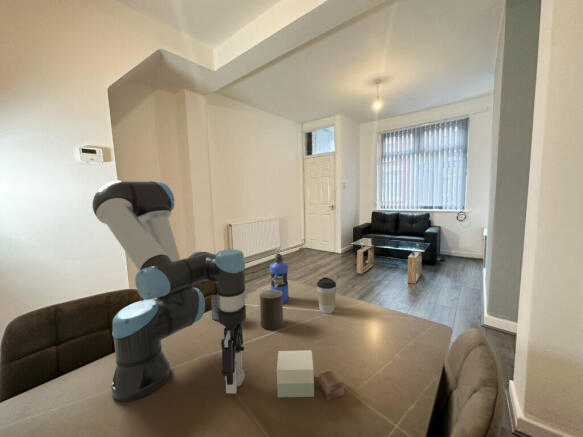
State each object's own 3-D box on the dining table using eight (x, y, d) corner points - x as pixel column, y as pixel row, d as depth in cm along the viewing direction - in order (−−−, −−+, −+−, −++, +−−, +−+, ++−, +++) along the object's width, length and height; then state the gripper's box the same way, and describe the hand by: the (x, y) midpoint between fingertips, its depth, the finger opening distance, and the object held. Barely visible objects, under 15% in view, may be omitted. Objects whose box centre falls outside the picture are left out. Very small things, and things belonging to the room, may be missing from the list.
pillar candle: (268, 333, 97) (267, 297, 96) (256, 323, 105) (255, 290, 103) (287, 324, 103) (287, 290, 102) (274, 316, 111) (274, 284, 109)
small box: (238, 318, 109) (237, 296, 108) (227, 325, 104) (226, 302, 103) (222, 313, 115) (221, 292, 114) (211, 319, 109) (210, 297, 108)
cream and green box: (277, 397, 66) (276, 370, 65) (279, 375, 74) (278, 351, 73) (314, 396, 66) (313, 369, 65) (312, 374, 74) (311, 350, 73)
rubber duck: (225, 394, 66) (224, 367, 65) (225, 376, 72) (224, 351, 71) (245, 389, 67) (244, 362, 66) (243, 372, 73) (242, 348, 72)
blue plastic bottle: (273, 296, 132) (271, 252, 129) (289, 296, 131) (288, 251, 128) (269, 304, 123) (267, 256, 120) (287, 304, 122) (286, 256, 119)
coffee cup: (338, 314, 110) (337, 283, 108) (318, 315, 110) (317, 283, 108) (334, 305, 119) (334, 276, 117) (316, 306, 119) (315, 276, 117)
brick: (327, 400, 64) (327, 386, 64) (319, 386, 69) (319, 374, 69) (343, 395, 66) (343, 381, 66) (334, 382, 71) (334, 369, 70)
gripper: (237, 325, 57) (239, 412, 60) (251, 291, 76) (253, 358, 79) (205, 325, 57) (209, 412, 60) (228, 291, 76) (230, 358, 79)
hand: (234, 381), depth 69 cm, fingers closed on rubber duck, 6 cm apart
